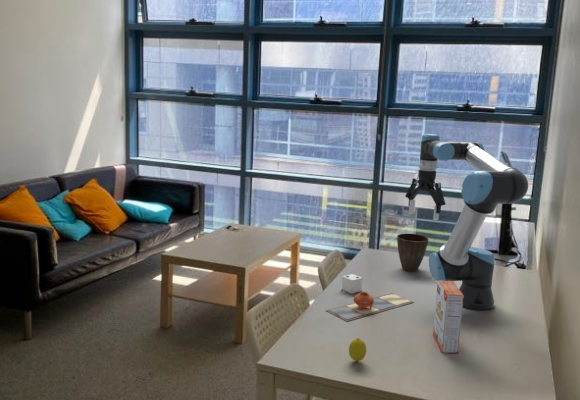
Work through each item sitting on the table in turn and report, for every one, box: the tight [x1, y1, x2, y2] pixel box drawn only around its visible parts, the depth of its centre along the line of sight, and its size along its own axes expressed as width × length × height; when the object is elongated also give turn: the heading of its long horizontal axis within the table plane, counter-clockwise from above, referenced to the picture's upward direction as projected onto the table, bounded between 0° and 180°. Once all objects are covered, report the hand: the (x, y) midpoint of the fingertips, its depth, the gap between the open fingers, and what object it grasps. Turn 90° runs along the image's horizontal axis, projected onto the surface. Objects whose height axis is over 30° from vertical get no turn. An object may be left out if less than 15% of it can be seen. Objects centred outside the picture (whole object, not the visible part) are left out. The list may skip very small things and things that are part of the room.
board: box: [325, 292, 414, 322], centre depth 229 cm, size 12×37×1 cm, turn 127°
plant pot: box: [396, 233, 429, 272], centre depth 277 cm, size 15×15×16 cm
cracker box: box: [432, 281, 464, 354], centre depth 196 cm, size 14×6×21 cm, turn 178°
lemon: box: [348, 337, 367, 363], centre depth 182 cm, size 6×6×8 cm
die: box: [341, 273, 363, 294], centre depth 246 cm, size 6×6×6 cm
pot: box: [353, 291, 374, 310], centre depth 226 cm, size 8×8×7 cm
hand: (423, 217), depth 254 cm, fingers open, 13 cm apart
